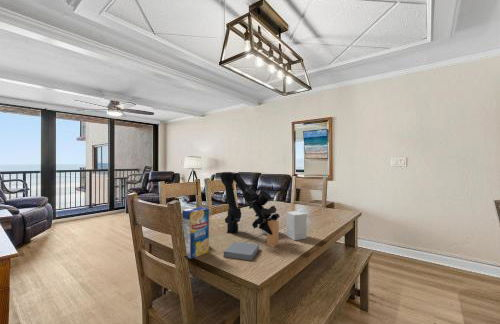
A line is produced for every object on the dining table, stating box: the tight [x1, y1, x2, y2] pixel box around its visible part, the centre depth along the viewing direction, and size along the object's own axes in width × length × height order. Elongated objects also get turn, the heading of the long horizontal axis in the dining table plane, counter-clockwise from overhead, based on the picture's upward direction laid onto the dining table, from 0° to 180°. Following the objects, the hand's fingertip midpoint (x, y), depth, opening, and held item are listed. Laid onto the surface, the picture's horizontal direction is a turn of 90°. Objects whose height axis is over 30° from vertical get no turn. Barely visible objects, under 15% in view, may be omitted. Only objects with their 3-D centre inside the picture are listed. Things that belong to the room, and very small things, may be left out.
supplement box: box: [286, 210, 308, 241], centre depth 139 cm, size 9×9×15 cm
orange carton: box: [266, 220, 280, 248], centre depth 127 cm, size 5×5×13 cm
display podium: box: [223, 241, 260, 261], centre depth 116 cm, size 14×14×2 cm
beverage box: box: [182, 206, 210, 259], centre depth 115 cm, size 7×11×22 cm, turn 138°
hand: (274, 233), depth 126 cm, fingers closed on orange carton, 5 cm apart
